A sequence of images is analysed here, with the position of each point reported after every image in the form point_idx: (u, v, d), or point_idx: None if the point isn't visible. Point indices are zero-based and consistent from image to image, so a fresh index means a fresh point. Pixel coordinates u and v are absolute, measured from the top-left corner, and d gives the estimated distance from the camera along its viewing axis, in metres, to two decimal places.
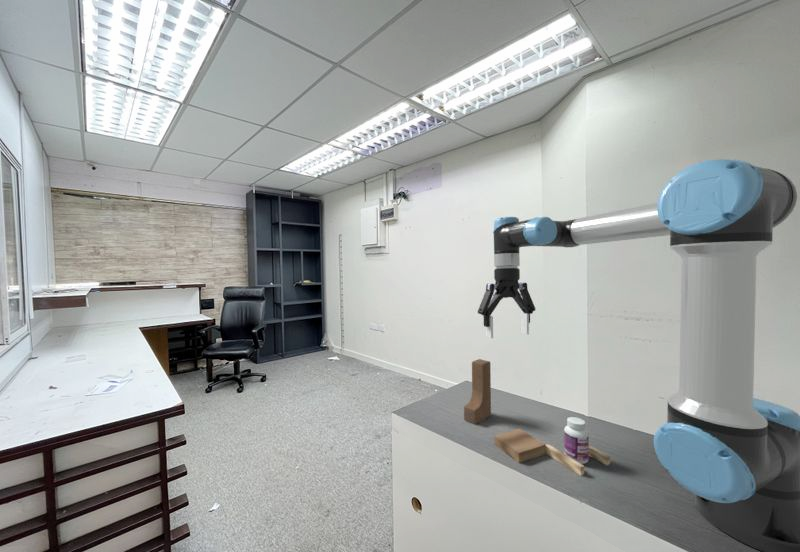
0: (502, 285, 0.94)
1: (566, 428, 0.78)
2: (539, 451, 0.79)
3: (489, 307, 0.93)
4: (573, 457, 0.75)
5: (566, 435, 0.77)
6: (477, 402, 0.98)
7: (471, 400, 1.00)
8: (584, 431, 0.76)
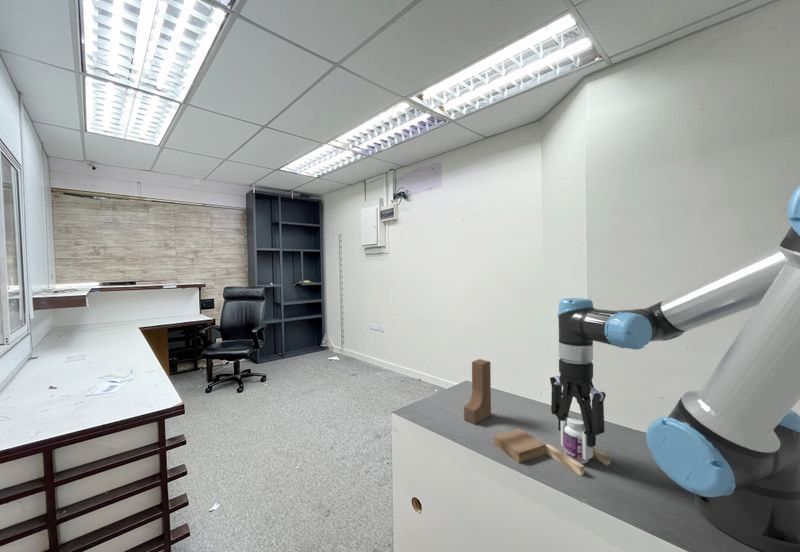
0: (562, 377, 0.79)
1: (566, 428, 0.78)
2: (539, 451, 0.79)
3: None
4: (573, 457, 0.75)
5: (566, 435, 0.77)
6: (477, 402, 0.98)
7: (471, 400, 1.00)
8: None
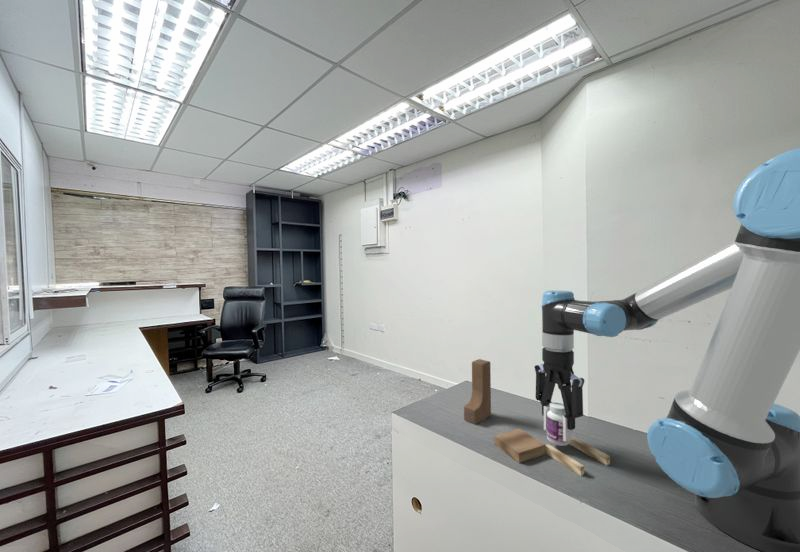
0: (546, 365, 0.84)
1: (548, 412, 0.83)
2: (539, 451, 0.79)
3: None
4: (554, 439, 0.80)
5: (548, 419, 0.82)
6: (477, 402, 0.98)
7: (471, 400, 1.00)
8: None
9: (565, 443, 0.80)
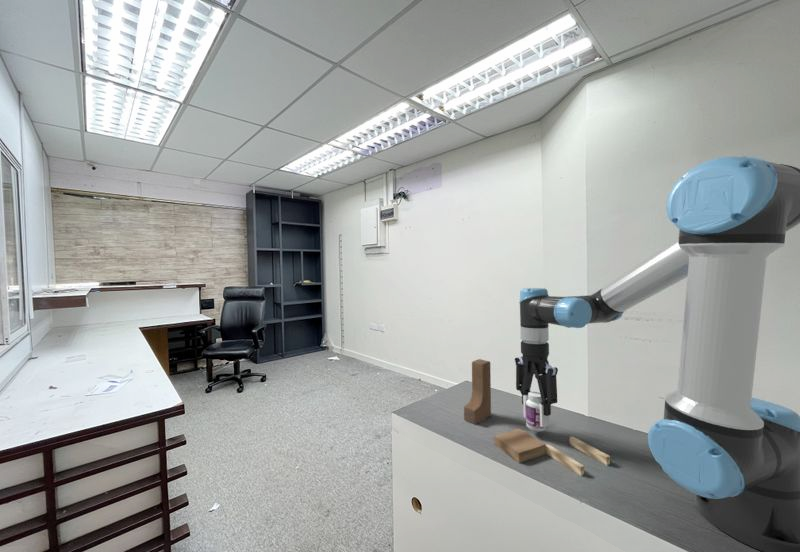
0: (524, 357, 0.91)
1: (527, 401, 0.89)
2: (539, 451, 0.79)
3: None
4: (532, 425, 0.87)
5: (527, 407, 0.89)
6: (477, 402, 0.98)
7: (471, 400, 1.00)
8: None
9: (542, 429, 0.86)
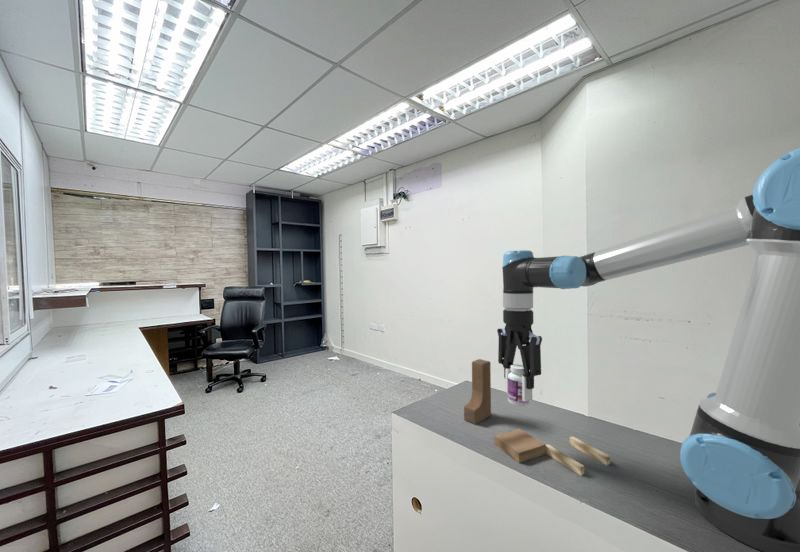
0: (507, 327, 0.83)
1: (509, 374, 0.82)
2: (539, 451, 0.79)
3: None
4: (514, 400, 0.80)
5: (509, 380, 0.81)
6: (477, 402, 0.98)
7: (471, 400, 1.00)
8: None
9: (525, 403, 0.79)
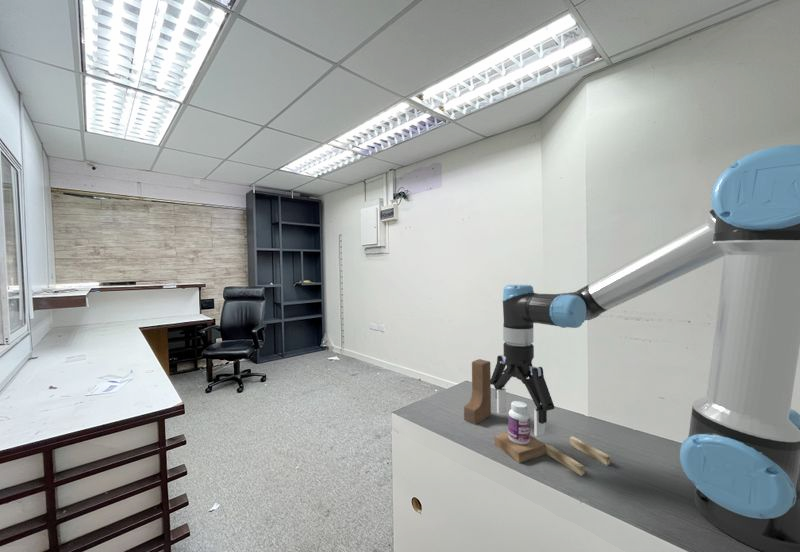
0: (508, 361, 0.83)
1: (510, 411, 0.82)
2: (539, 451, 0.79)
3: None
4: (515, 438, 0.80)
5: (509, 418, 0.81)
6: (477, 402, 0.98)
7: (471, 400, 1.00)
8: (525, 414, 0.80)
9: (525, 442, 0.79)
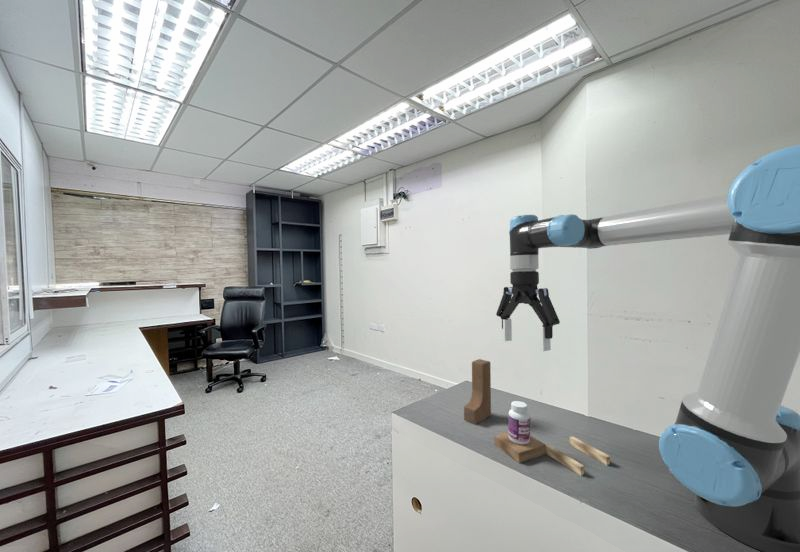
0: (514, 289, 0.89)
1: (510, 411, 0.82)
2: (539, 451, 0.79)
3: None
4: (515, 438, 0.80)
5: (509, 418, 0.81)
6: (477, 402, 0.98)
7: (471, 400, 1.00)
8: (525, 414, 0.80)
9: (525, 442, 0.79)
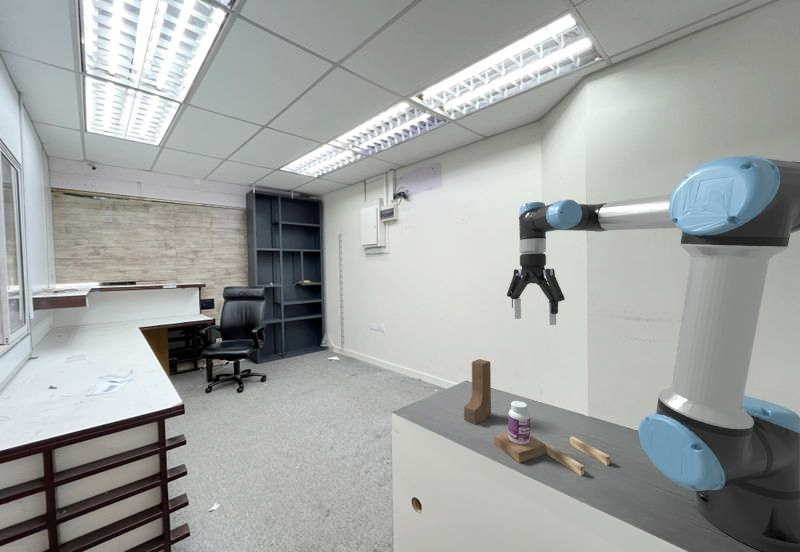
0: (523, 271, 0.97)
1: (510, 411, 0.82)
2: (539, 451, 0.79)
3: None
4: (515, 438, 0.80)
5: (509, 418, 0.81)
6: (477, 402, 0.98)
7: (471, 400, 1.00)
8: (525, 414, 0.80)
9: (525, 442, 0.79)
